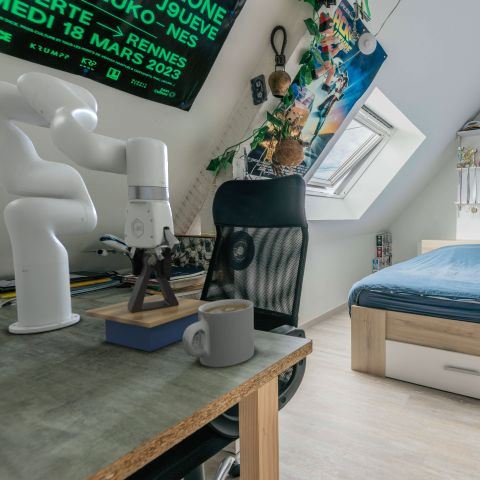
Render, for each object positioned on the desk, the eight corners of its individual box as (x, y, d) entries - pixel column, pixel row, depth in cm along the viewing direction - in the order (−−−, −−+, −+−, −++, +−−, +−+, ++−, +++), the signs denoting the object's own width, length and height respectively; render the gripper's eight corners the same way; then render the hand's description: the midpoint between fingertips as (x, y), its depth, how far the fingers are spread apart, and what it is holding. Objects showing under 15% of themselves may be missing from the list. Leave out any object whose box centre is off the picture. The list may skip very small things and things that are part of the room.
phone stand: (130, 313, 67) (128, 256, 66) (127, 307, 72) (124, 253, 71) (179, 305, 73) (177, 253, 72) (173, 300, 78) (171, 251, 77)
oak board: (85, 315, 69) (85, 311, 69) (156, 298, 83) (156, 294, 83) (149, 328, 61) (149, 322, 61) (215, 306, 76) (215, 302, 76)
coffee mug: (239, 341, 70) (238, 296, 69) (263, 355, 63) (262, 305, 63) (172, 361, 60) (170, 309, 60) (191, 379, 54) (189, 321, 53)
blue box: (106, 341, 70) (104, 314, 69) (158, 324, 81) (157, 301, 80) (150, 351, 65) (149, 322, 64) (199, 332, 76) (199, 307, 75)
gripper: (105, 195, 70) (109, 275, 71) (160, 194, 64) (164, 282, 65) (139, 197, 77) (142, 270, 78) (192, 196, 71) (195, 275, 72)
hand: (152, 275), depth 72 cm, fingers open, 7 cm apart
